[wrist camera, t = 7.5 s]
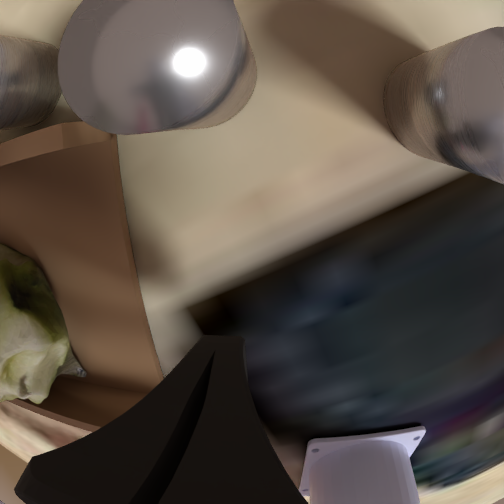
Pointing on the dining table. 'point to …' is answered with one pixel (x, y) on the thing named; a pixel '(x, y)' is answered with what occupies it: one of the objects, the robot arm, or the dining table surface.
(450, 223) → the dining table surface
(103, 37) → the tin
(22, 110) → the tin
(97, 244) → the tray
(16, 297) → the pale green lumpy ball
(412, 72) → the grey metal cylinder
